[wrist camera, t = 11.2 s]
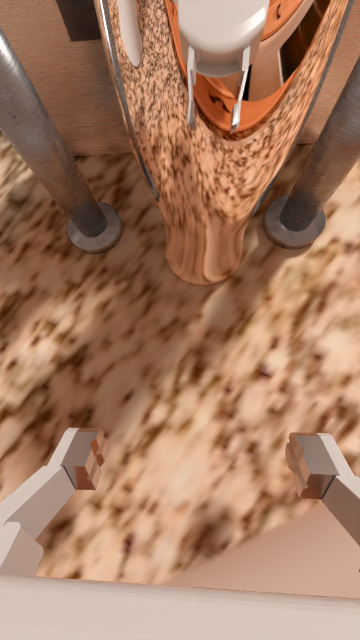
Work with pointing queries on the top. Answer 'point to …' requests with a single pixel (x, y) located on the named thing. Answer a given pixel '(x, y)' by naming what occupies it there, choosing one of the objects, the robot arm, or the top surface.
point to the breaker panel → (94, 77)
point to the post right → (319, 173)
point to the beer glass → (215, 108)
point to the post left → (52, 158)
